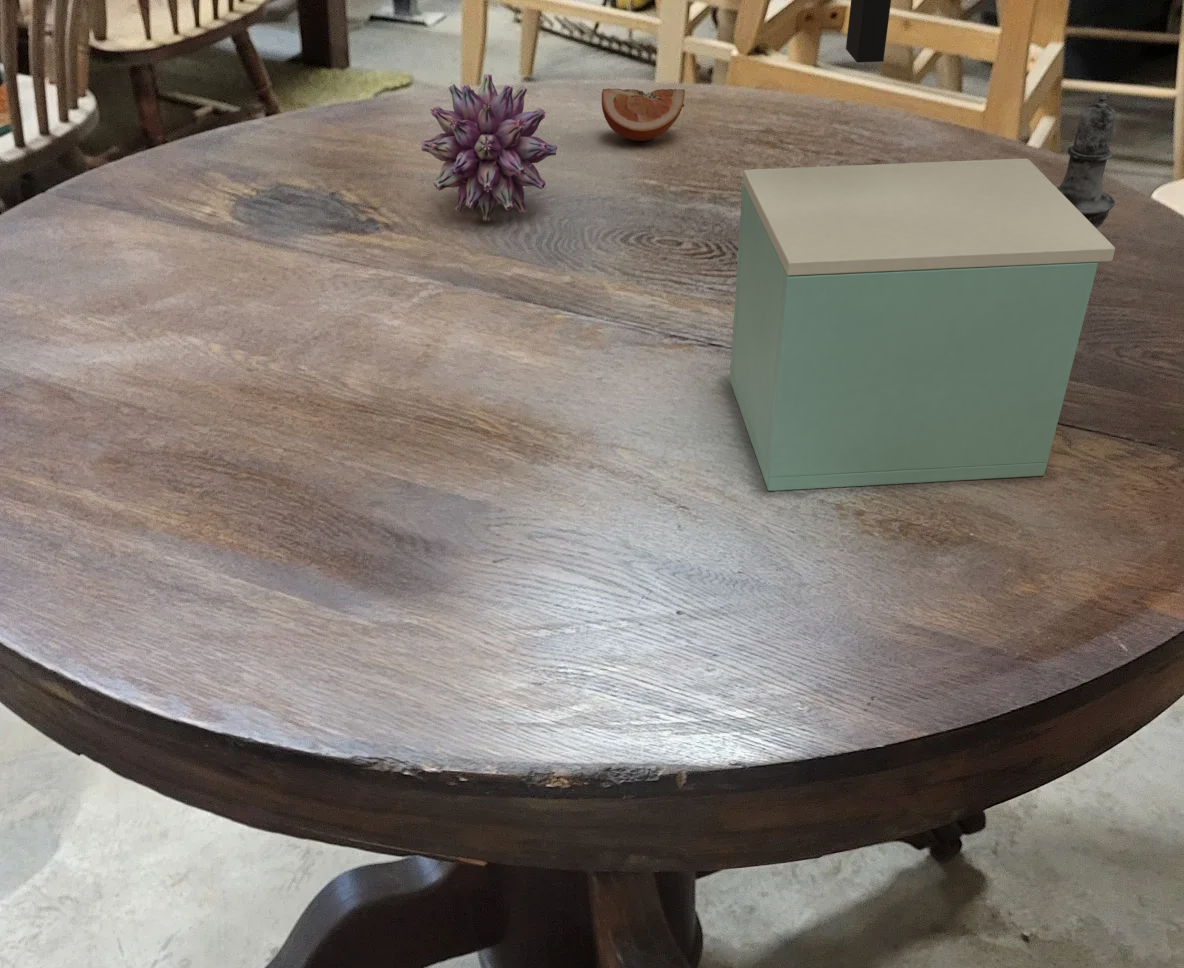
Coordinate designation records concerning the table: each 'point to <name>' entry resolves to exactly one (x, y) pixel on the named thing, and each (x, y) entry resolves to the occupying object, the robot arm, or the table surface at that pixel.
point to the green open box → (901, 367)
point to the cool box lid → (920, 217)
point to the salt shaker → (1090, 162)
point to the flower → (488, 147)
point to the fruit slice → (641, 111)
